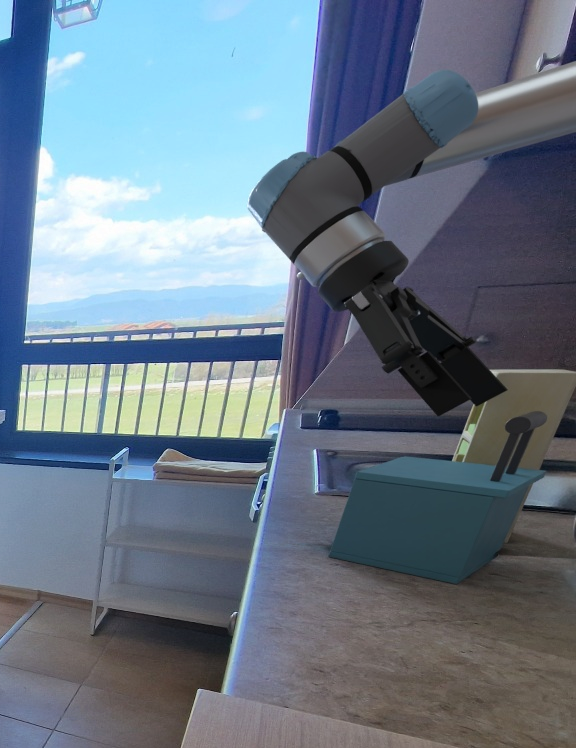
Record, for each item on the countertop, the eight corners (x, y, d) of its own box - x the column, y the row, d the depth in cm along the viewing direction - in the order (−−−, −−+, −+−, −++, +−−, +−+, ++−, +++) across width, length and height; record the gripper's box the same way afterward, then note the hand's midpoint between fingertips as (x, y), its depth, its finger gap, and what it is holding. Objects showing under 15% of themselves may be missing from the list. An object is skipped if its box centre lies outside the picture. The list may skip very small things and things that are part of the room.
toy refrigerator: (418, 526, 88) (479, 368, 80) (493, 534, 84) (566, 368, 76) (423, 540, 83) (490, 372, 74) (504, 550, 78) (584, 372, 70)
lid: (543, 477, 72) (575, 409, 69) (506, 498, 64) (539, 422, 61) (401, 462, 81) (423, 401, 79) (354, 478, 74) (377, 412, 71)
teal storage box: (497, 556, 76) (533, 477, 72) (456, 584, 69) (494, 497, 65) (375, 534, 85) (401, 462, 82) (327, 556, 78) (354, 478, 74)
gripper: (356, 291, 85) (465, 415, 79) (271, 290, 73) (393, 435, 67) (423, 242, 79) (548, 372, 73) (343, 231, 67) (484, 386, 61)
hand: (474, 403), depth 70 cm, fingers open, 13 cm apart
